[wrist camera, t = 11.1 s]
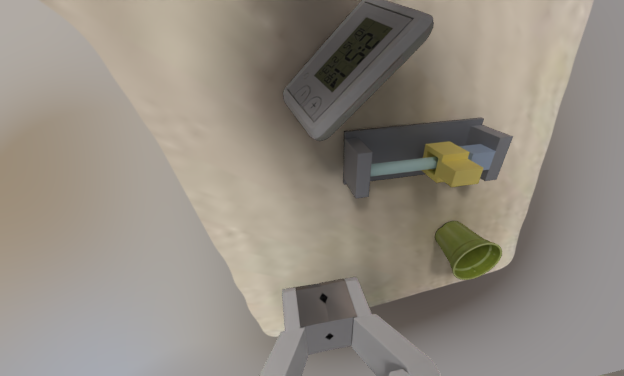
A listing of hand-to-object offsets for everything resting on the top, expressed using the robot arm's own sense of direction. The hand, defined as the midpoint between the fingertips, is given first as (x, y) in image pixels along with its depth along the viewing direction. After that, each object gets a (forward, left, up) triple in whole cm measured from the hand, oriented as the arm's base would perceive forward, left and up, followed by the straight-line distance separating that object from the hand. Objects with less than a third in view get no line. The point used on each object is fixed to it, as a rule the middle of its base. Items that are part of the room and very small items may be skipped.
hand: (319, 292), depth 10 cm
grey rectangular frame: (+8, +21, -29) cm, 37 cm away
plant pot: (+28, +33, -29) cm, 52 cm away
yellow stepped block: (+8, +24, -26) cm, 36 cm away
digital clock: (-6, +8, -29) cm, 31 cm away
